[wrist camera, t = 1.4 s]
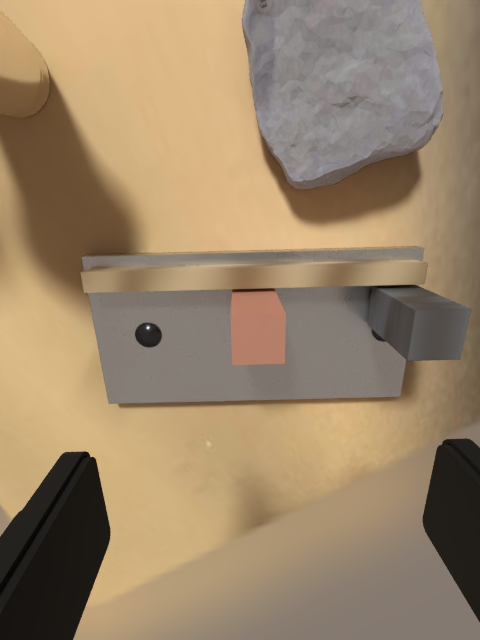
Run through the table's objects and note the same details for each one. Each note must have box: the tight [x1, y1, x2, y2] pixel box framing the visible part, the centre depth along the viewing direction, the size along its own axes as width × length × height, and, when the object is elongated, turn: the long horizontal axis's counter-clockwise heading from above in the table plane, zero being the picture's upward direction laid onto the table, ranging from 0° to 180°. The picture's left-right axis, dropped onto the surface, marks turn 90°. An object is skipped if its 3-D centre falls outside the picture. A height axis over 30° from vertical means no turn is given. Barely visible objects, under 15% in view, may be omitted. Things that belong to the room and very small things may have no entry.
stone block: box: [242, 0, 443, 190], centre depth 19 cm, size 12×5×10 cm
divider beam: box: [80, 260, 471, 361], centre depth 21 cm, size 23×6×6 cm, turn 91°
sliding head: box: [230, 288, 286, 365], centre depth 21 cm, size 3×4×6 cm
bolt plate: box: [81, 246, 424, 404], centre depth 25 cm, size 24×12×1 cm, turn 91°
